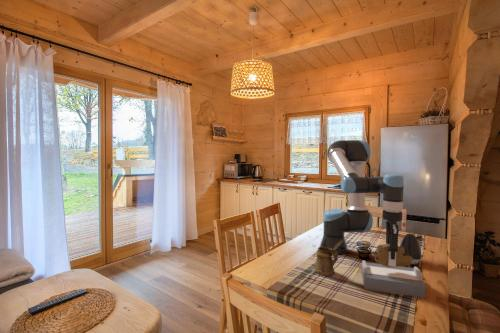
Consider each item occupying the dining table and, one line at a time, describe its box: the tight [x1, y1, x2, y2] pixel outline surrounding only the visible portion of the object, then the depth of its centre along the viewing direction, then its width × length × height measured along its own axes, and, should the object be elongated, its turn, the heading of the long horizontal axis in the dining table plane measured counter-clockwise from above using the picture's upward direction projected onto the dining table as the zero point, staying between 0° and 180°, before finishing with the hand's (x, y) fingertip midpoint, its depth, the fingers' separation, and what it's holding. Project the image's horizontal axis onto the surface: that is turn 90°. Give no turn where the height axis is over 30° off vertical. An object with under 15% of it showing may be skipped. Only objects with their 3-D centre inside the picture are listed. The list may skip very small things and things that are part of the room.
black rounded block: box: [399, 232, 423, 265], centre depth 136 cm, size 10×10×15 cm
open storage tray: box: [360, 260, 427, 299], centre depth 114 cm, size 22×16×7 cm
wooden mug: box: [313, 240, 343, 277], centre depth 124 cm, size 9×14×18 cm, turn 45°
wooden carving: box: [371, 243, 413, 268], centre depth 113 cm, size 16×5×10 cm, turn 84°
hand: (390, 263), depth 114 cm, fingers closed on wooden carving, 4 cm apart
